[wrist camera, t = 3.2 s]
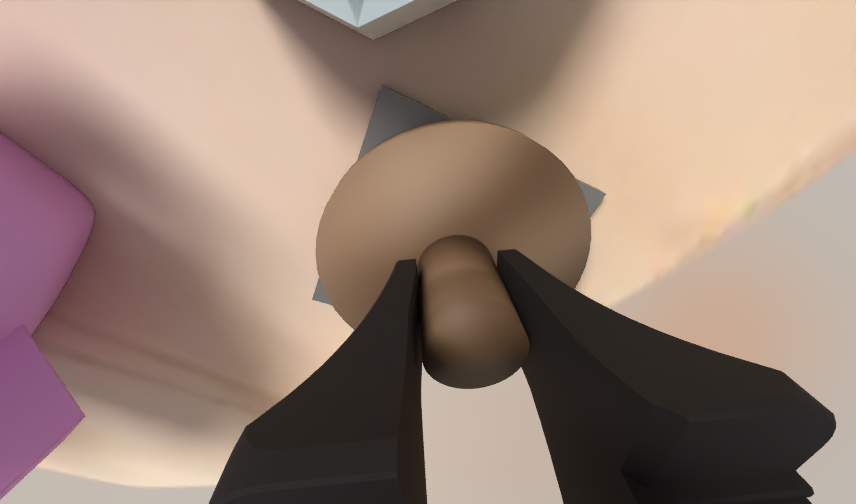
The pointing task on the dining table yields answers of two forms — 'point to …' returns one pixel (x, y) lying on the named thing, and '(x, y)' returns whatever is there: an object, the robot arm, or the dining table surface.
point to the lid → (453, 238)
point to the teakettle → (33, 305)
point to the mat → (406, 113)
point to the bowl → (375, 13)
